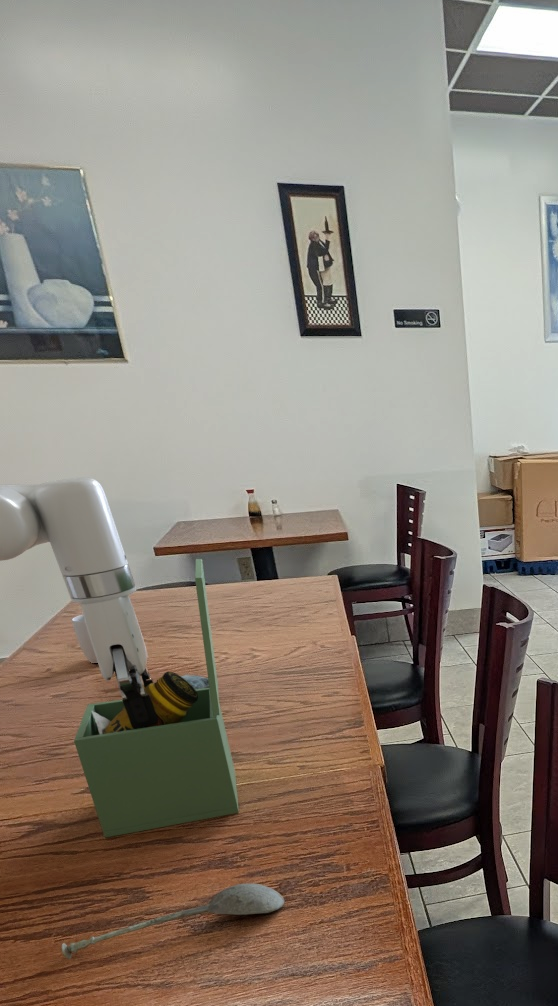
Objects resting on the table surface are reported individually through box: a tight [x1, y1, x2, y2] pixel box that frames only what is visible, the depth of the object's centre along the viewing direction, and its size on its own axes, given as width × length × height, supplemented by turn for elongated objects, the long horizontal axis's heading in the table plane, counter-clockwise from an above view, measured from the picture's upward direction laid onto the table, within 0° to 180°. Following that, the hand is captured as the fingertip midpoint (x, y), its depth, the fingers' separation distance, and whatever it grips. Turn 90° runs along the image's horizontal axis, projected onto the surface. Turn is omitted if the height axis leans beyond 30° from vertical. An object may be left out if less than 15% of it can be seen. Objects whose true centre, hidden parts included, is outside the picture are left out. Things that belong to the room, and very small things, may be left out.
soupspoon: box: [61, 882, 286, 960], centre depth 88 cm, size 22×3×7 cm
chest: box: [73, 688, 240, 839], centre depth 114 cm, size 17×15×14 cm
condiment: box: [92, 671, 198, 735], centre depth 111 cm, size 7×8×12 cm
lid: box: [194, 558, 220, 716], centre depth 110 cm, size 18×15×1 cm
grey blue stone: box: [180, 674, 209, 689], centre depth 155 cm, size 9×12×5 cm
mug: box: [71, 614, 98, 664], centre depth 184 cm, size 13×9×10 cm
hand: (147, 716), depth 111 cm, fingers closed on condiment, 6 cm apart
